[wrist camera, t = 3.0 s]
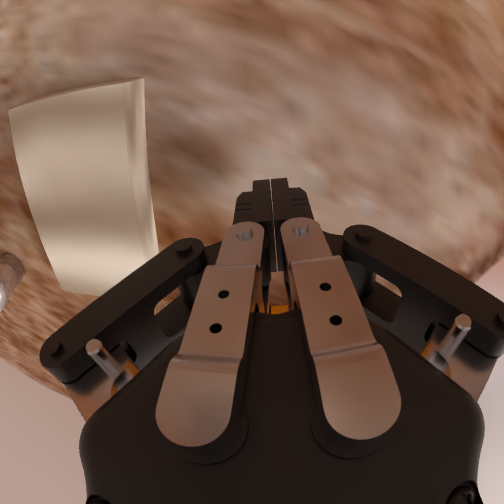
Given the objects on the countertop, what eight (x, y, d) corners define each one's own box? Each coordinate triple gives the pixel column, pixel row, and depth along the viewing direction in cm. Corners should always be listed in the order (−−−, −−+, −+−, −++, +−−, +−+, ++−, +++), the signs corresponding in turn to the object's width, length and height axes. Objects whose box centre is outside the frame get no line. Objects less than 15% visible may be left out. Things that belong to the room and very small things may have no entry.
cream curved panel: (38, 97, 12) (7, 110, 10) (147, 76, 12) (123, 83, 10) (78, 264, 21) (63, 290, 18) (164, 274, 21) (154, 304, 19)
